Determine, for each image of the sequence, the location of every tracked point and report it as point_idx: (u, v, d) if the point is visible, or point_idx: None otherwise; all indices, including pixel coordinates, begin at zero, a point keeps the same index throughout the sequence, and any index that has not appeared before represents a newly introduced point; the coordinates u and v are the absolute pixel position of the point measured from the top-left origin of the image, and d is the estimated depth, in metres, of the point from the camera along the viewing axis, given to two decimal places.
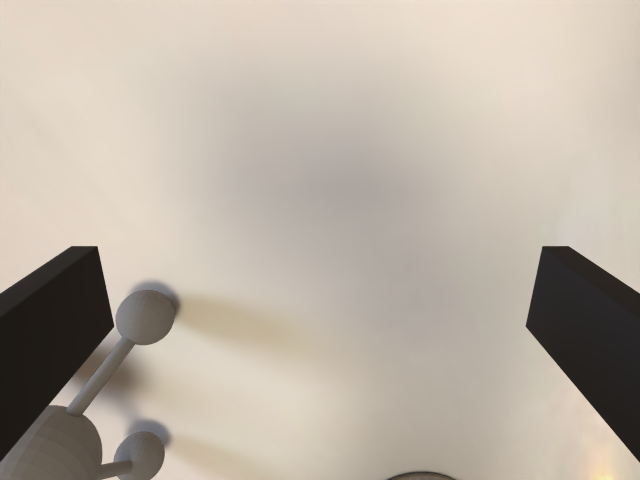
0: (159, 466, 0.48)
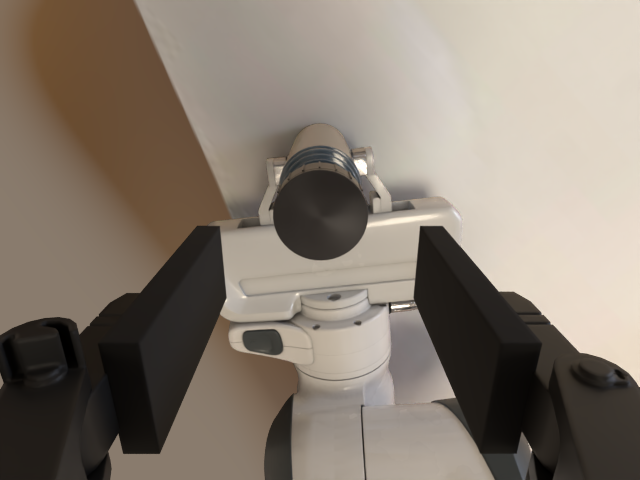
0: None
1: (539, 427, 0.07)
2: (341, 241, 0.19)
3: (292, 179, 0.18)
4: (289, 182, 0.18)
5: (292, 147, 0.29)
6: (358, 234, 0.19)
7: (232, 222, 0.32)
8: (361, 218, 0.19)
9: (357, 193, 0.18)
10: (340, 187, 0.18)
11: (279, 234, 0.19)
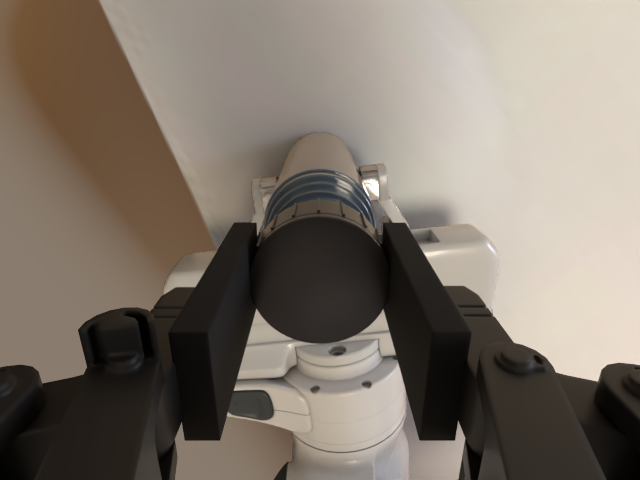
0: None
1: (469, 416, 0.08)
2: (351, 317, 0.13)
3: (277, 230, 0.12)
4: (272, 234, 0.12)
5: (284, 165, 0.23)
6: (376, 308, 0.13)
7: (211, 255, 0.26)
8: (381, 286, 0.13)
9: (376, 250, 0.12)
10: (350, 242, 0.12)
11: (259, 308, 0.13)
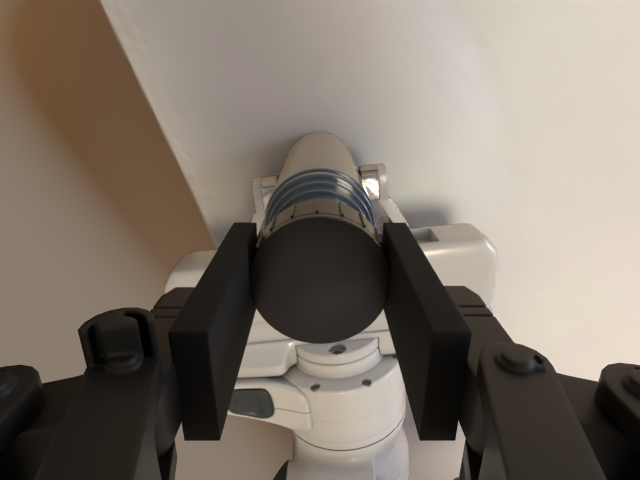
0: None
1: (470, 416, 0.08)
2: (337, 240, 0.12)
3: (293, 338, 0.13)
4: (299, 339, 0.13)
5: (284, 165, 0.23)
6: (313, 224, 0.12)
7: (211, 254, 0.26)
8: (288, 234, 0.12)
9: (258, 259, 0.12)
10: (266, 283, 0.13)
11: (373, 318, 0.13)
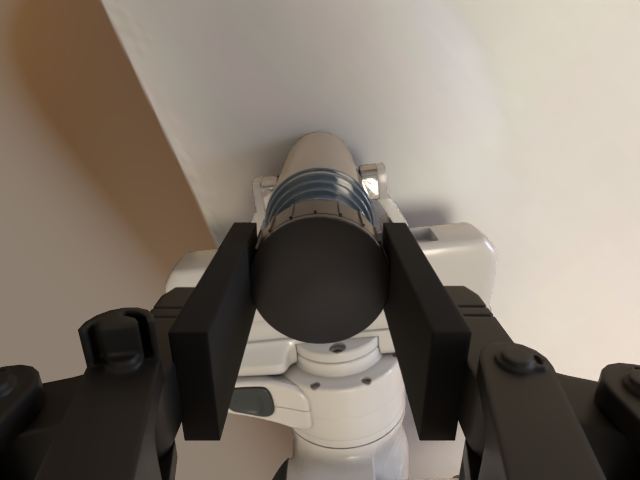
0: None
1: (469, 416, 0.08)
2: (271, 293, 0.13)
3: (389, 275, 0.12)
4: (388, 270, 0.12)
5: (285, 164, 0.23)
6: (270, 317, 0.13)
7: (212, 253, 0.26)
8: (291, 330, 0.13)
9: (327, 339, 0.13)
10: (345, 324, 0.13)
11: (324, 220, 0.12)
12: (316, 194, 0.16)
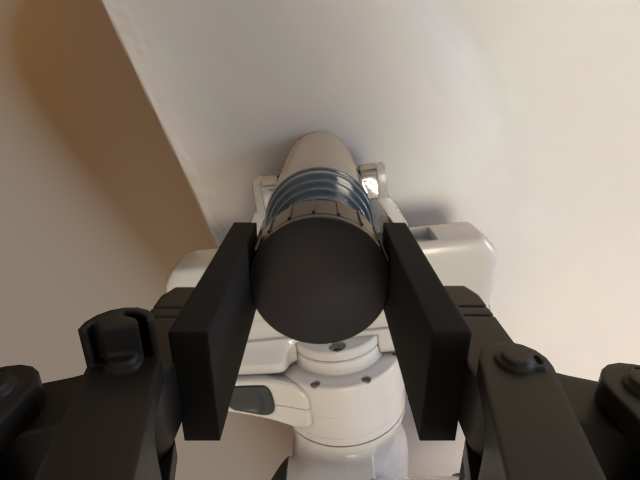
0: None
1: (469, 416, 0.08)
2: (353, 316, 0.13)
3: (273, 233, 0.12)
4: (269, 238, 0.12)
5: (285, 164, 0.23)
6: (378, 305, 0.13)
7: (212, 253, 0.27)
8: (381, 282, 0.13)
9: (373, 247, 0.12)
10: (346, 240, 0.12)
11: (261, 312, 0.13)
12: (316, 193, 0.16)
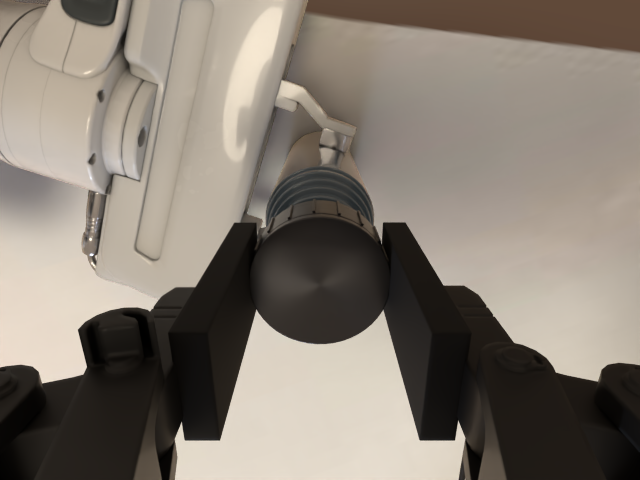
0: None
1: (469, 416, 0.08)
2: (353, 316, 0.13)
3: (273, 233, 0.12)
4: (269, 237, 0.12)
5: None
6: (377, 305, 0.13)
7: (298, 32, 0.22)
8: (381, 283, 0.13)
9: (373, 247, 0.12)
10: (347, 240, 0.12)
11: (261, 311, 0.13)
12: None
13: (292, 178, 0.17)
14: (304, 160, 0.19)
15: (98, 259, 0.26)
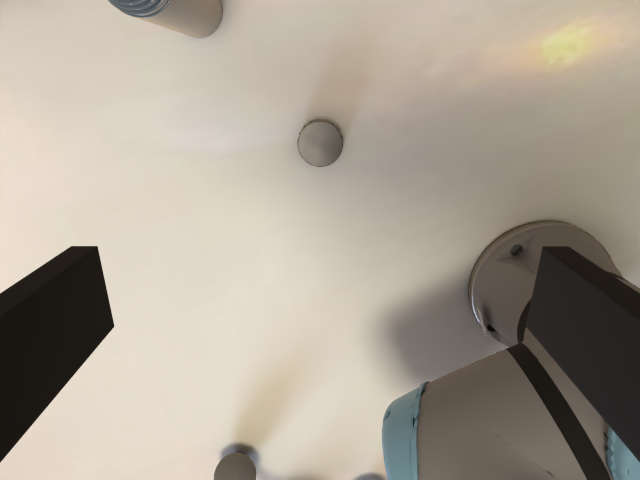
0: None
1: None
2: (330, 156, 0.40)
3: (306, 126, 0.39)
4: (304, 128, 0.39)
5: None
6: (338, 151, 0.40)
7: None
8: (339, 143, 0.40)
9: (336, 131, 0.40)
10: (328, 129, 0.39)
11: (301, 154, 0.40)
12: None
13: None
14: None
15: None
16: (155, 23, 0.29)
